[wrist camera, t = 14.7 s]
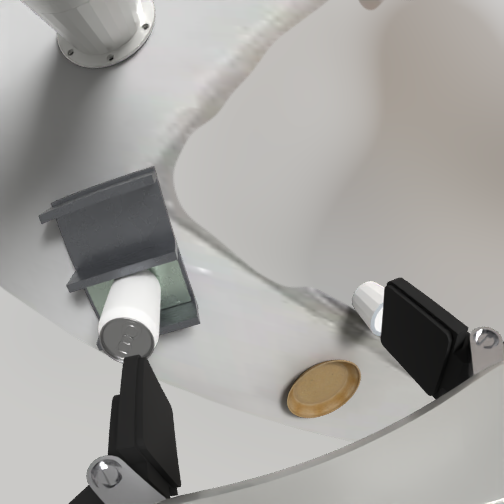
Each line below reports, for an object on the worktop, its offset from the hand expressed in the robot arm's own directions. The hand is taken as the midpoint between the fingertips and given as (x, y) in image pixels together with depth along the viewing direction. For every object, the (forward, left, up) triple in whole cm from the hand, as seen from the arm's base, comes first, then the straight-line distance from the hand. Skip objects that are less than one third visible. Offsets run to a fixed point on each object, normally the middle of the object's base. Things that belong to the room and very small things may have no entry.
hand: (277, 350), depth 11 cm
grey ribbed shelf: (+4, -12, -30) cm, 32 cm away
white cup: (+22, +21, -30) cm, 43 cm away
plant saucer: (+38, +11, -31) cm, 50 cm away
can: (+8, -11, -29) cm, 32 cm away
